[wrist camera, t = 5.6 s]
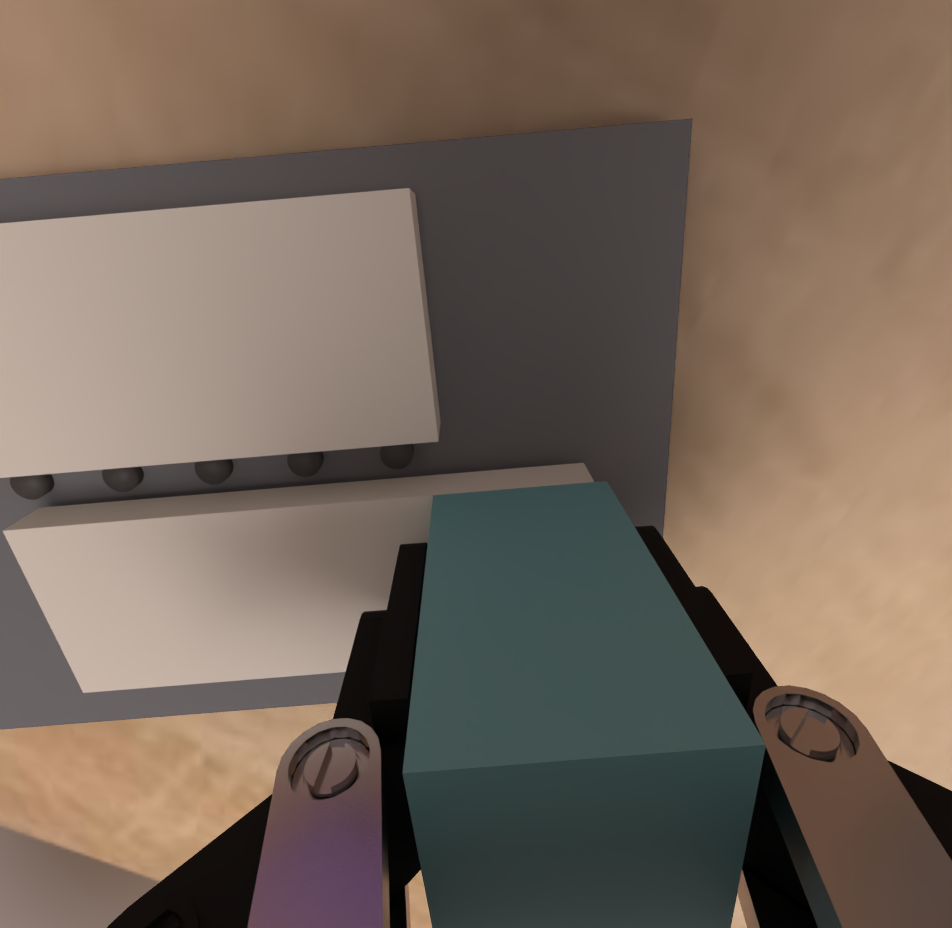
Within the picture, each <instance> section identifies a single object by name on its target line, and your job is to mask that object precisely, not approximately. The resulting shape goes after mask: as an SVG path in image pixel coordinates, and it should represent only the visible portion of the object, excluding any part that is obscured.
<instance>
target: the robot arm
mask: <svg viewBox="0 0 952 928" xmlns="http://www.w3.org/2000/svg"><path fill="white" fill-rule="evenodd" d="M635 528H636V530H637V532H638V533H639V535H640V537H641V538H642V540H643V542H644V543H645V545H646V547H647V548H648V550H649V552H650V553H651V555H652V557H653V558H654V560H655V562H656V563H657V565H658V567H659V568H660V570H661V572H662V573H663V575H664V577H665V578H666V580H667V581H668V583H669V585H670V586H671V588H672V590H673V591H674V593H675V595H676V596H677V598H678V600H679V601H680V603H681V605H682V606H683V608H684V610H685V611H686V613H687V615H688V616H689V618H690V620H691V621H692V623H693V625H694V626H695V628H696V630H697V631H698V633H699V634H700V636H701V638H702V639H703V641H704V643H705V644H706V646H707V648H708V649H709V651H710V653H711V654H712V656H713V658H714V659H715V661H716V663H717V664H718V666H719V668H720V669H721V671H722V673H723V674H724V676H725V678H726V679H727V681H728V683H729V684H730V686H731V688H732V689H733V691H734V692H735V694H736V696H737V697H738V699H739V701H740V702H741V704H742V706H743V707H744V709H745V711H746V712H747V714H748V716H749V717H750V719H751V721H752V722H753V724H754V726H755V727H756V729H757V731H758V732H759V734H760V736H761V737H762V739H763V741H764V742H765V744H766V748H765V753H764V758H763V763H762V768H761V773H760V778H759V784H758V789H757V794H756V799H755V804H754V809H753V815H752V820H751V825H750V830H749V835H748V840H747V845H746V851H745V856H744V861H743V866H742V871H741V876H740V881H739V887H738V892H737V893H738V897H739V900H740V904H741V907H742V911H743V914H744V918H745V921H746V925H747V928H952V791H951V790H948V789H946V788H944V787H942V786H940V785H938V784H936V783H934V782H932V781H930V780H928V779H926V778H923V777H921V776H919V775H917V774H915V773H913V772H911V771H909V770H907V769H905V768H903V767H901V766H898V765H896V764H894V763H892V762H890V761H888V760H887V759H886V758H885V756H884V755H883V753H882V751H881V750H880V748H879V747H878V745H877V744H876V742H875V741H874V739H873V737H872V736H871V734H870V733H869V731H868V730H867V728H866V727H865V726H864V725H863V723H862V722H861V721H860V720H859V719H858V717H857V716H856V715H855V714H854V713H852V712H851V711H850V710H849V709H847V708H846V707H845V706H843V705H842V704H841V703H839V702H838V701H836V700H834V699H832V698H830V697H828V696H826V695H825V694H822V693H819V692H816V691H813V690H811V689H808V688H803V687H796V686H790V685H788V686H777V685H776V683H775V682H774V680H773V679H772V677H771V676H770V675H769V673H768V672H767V670H766V669H765V668H764V666H763V665H762V663H761V662H760V660H759V659H758V658H757V656H756V655H755V653H754V652H753V651H752V649H751V648H750V646H749V645H748V643H747V642H746V641H745V639H744V638H743V636H742V635H741V634H740V632H739V631H738V629H737V628H736V627H735V625H734V624H733V622H732V621H731V619H730V618H729V617H728V615H727V614H726V612H725V611H724V610H723V608H722V607H721V605H720V604H719V602H718V601H717V600H716V598H715V597H714V595H713V594H712V593H711V592H710V591H709V589H708V588H706V587H703V586H700V587H695V586H694V584H693V583H692V581H691V580H690V578H689V577H688V575H687V574H686V572H685V571H684V569H683V568H682V566H681V565H680V563H679V562H678V560H677V559H676V557H675V556H674V554H673V553H672V551H671V550H670V548H669V547H668V545H667V544H666V542H665V541H664V539H663V538H662V536H661V535H660V533H659V532H658V530H657V529H656V528H655V527H654V526H652V525H651V526H638V527H635ZM427 546H428V544H427V542H425V543H412V544H401V545H400V547H399V551H398V556H397V561H396V566H395V571H394V576H393V581H392V586H391V591H390V596H389V601H388V606H387V610H378V611H365V612H363V613H362V614H361V617H360V620H359V624H358V627H357V631H356V635H355V639H354V642H353V646H352V650H351V654H350V657H349V661H348V665H347V669H346V672H345V676H344V680H343V684H342V687H341V691H340V695H339V699H338V702H337V706H336V710H335V714H334V717H333V719H332V720H329V721H325V722H322V723H319V724H317V725H315V726H313V727H312V728H310V729H308V730H307V731H305V732H303V733H302V734H301V735H300V736H299V737H298V738H297V739H296V740H294V741H293V742H292V743H291V745H290V746H289V747H288V749H287V750H286V752H285V753H284V755H283V756H282V758H281V761H280V764H279V766H278V769H277V772H276V778H275V783H274V788H273V794H272V795H270V796H269V797H268V798H267V799H265V800H264V801H263V802H261V803H260V804H259V805H258V806H256V807H255V808H254V809H253V810H251V811H250V812H249V813H247V814H246V815H245V816H244V817H242V818H241V819H240V820H239V821H237V822H236V823H235V824H233V825H232V826H231V827H230V828H228V829H227V830H226V831H225V832H223V833H222V834H221V835H219V836H218V837H217V838H216V839H214V840H213V841H212V842H211V843H209V844H208V845H207V846H205V847H204V848H203V849H202V850H200V851H199V852H198V853H197V854H195V855H194V856H193V857H192V858H190V859H189V860H188V861H186V862H185V863H184V864H183V865H181V866H180V867H179V868H178V869H176V870H175V871H174V872H172V873H171V874H170V875H169V876H167V877H166V878H165V879H164V880H162V881H161V882H160V883H158V884H157V885H156V886H155V887H153V888H152V889H151V890H150V891H148V892H147V893H146V894H144V895H143V896H142V897H141V898H139V899H138V900H137V901H136V902H134V903H133V904H132V905H130V906H129V907H128V908H127V909H126V910H125V911H124V912H123V913H122V914H121V915H120V916H118V917H117V918H116V919H115V920H114V921H113V922H112V923H111V924H110V925H109V926H108V927H107V928H411V924H410V905H409V886H408V883H409V882H410V881H411V880H412V878H413V877H414V876H415V875H416V874H417V873H418V872H419V871H420V870H421V866H420V861H419V856H418V851H417V845H416V840H415V835H414V830H413V825H412V820H411V815H410V810H409V804H408V799H407V794H406V789H405V784H404V779H403V774H402V773H403V764H404V755H405V746H406V737H407V728H408V718H409V709H410V700H411V691H412V682H413V673H414V664H415V655H416V646H417V637H418V628H419V619H420V610H421V601H422V591H423V582H424V573H425V564H426V555H427Z"/></svg>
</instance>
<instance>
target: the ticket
mask: <svg viewBox="0 0 952 928" xmlns="http://www.w3.org/2000/svg"><path fill="white" fill-rule="evenodd" d="M440 423H441V421H440V412H439V403H438V394H437V385H436V376H435V367H434V358H433V349H432V340H431V331H430V322H429V313H428V304H427V295H426V286H425V277H424V268H423V259H422V250H421V241H420V232H419V223H418V214H417V205H416V196H415V193H414V192H413V191H412V190H411V189H410V188H403V189H391V190H380V191H368V192H357V193H345V194H334V195H322V196H311V197H299V198H288V199H276V200H265V201H253V202H242V203H230V204H219V205H207V206H196V207H184V208H173V209H161V210H150V211H138V212H127V213H115V214H104V215H92V216H81V217H69V218H58V219H46V220H34V221H23V222H11V223H0V478H7V477H10V485H11V487H12V489H13V490H14V492H15V493H17V494H18V495H19V496H21V497H23V498H25V499H29V500H35V499H39V498H40V497H42V496H44V495H45V494H47V493H49V492H50V491H51V490H52V489H53V488H54V479H53V477H52V475H51V474H55V473H67V472H79V471H91V470H103V471H102V477H103V480H104V482H105V483H106V485H107V486H109V487H110V488H111V489H113V490H115V491H118V492H128V491H131V490H132V489H133V488H135V487H136V486H137V485H139V484H140V483H141V482H142V480H143V478H144V472H143V470H142V468H141V466H151V465H163V464H175V463H187V462H195V472H196V474H197V476H198V477H199V478H200V479H201V480H202V481H203V482H205V483H208V484H212V485H217V484H220V483H222V482H224V481H225V480H226V479H227V478H228V477H229V476H230V475H231V474H232V472H233V468H234V466H233V462H232V460H231V459H236V458H248V457H260V456H272V455H284V454H289V455H288V457H287V463H288V466H289V468H290V470H291V471H292V472H293V473H294V474H296V475H298V476H301V477H310V476H313V475H315V474H316V473H317V472H318V470H319V469H320V467H321V465H322V464H323V460H324V457H323V453H322V451H332V450H344V449H356V448H368V447H380V446H382V447H381V450H380V457H381V460H382V462H383V463H384V464H385V465H386V466H387V467H389V468H391V469H396V470H398V469H403V468H405V467H407V466H408V465H409V464H410V463H411V461H412V458H413V453H414V447H413V444H416V443H428V442H438V440H439V432H440Z"/></svg>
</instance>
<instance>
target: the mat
mask: <svg viewBox="0 0 952 928" xmlns="http://www.w3.org/2000/svg"><path fill="white" fill-rule="evenodd" d="M691 129H692V119H682V120H671V121H659V122H648V123H636V124H625V125H614V126H602V127H591V128H579V129H568V130H556V131H545V132H533V133H522V134H511V135H499V136H488V137H476V138H465V139H453V140H442V141H431V142H419V143H408V144H396V145H385V146H373V147H362V148H351V149H339V150H328V151H316V152H305V153H293V154H282V155H271V156H259V157H248V158H236V159H225V160H213V161H202V162H191V163H179V164H168V165H156V166H145V167H133V168H122V169H110V170H99V171H88V172H76V173H65V174H53V175H42V176H30V177H19V178H8V179H0V223H11V222H23V221H34V220H46V219H58V218H69V217H81V216H92V215H104V214H115V213H127V212H138V211H150V210H161V209H173V208H184V207H196V206H207V205H219V204H230V203H242V202H253V201H265V200H276V199H288V198H299V197H311V196H322V195H334V194H345V193H357V192H368V191H380V190H391V189H403V188H410V189H411V190H412V191H413V192H414V193H415V196H416V205H417V214H418V223H419V232H420V241H421V250H422V259H423V268H424V277H425V286H426V295H427V304H428V313H429V322H430V331H431V340H432V349H433V358H434V367H435V376H436V385H437V394H438V403H439V412H440V421H441V423H440V432H439V440H438V442H428V443H416V444H413V447H414V453H413V458H412V461H411V463H410V464H409V465H408V466H407V467H405V468H403V469H398V470H396V469H391V468H389V467H387V466H386V465H385V464H384V463H383V462H382V460H381V457H380V450H381V447H382V446H380V447H368V448H356V449H344V450H332V451H322V453H323V457H324V460H323V464H322V465H321V467H320V469H319V470H318V472H317V473H316V474H315V475H313V476H310V477H301V476H298V475H296V474H294V473H293V472H292V471H291V470H290V468H289V466H288V463H287V457H288V455H289V454H284V455H272V456H260V457H248V458H236V459H231V460H232V462H233V466H234V468H233V472H232V474H231V475H230V476H229V477H228V478H227V479H226V480H225V481H224V482H222V483H220V484H217V485H212V484H208V483H205V482H203V481H202V480H201V479H200V478H199V477H198V476H197V474H196V472H195V462H187V463H175V464H163V465H151V466H141V468H142V470H143V472H144V478H143V480H142V482H141V483H140V484H139V485H137V486H136V487H135V488H133V489H132V490H131V491H128V492H118V491H115V490H113V489H111V488H110V487H109V486H107V485H106V483H105V482H104V480H103V477H102V471H103V470H91V471H79V472H67V473H55V474H51V475H52V477H53V479H54V488H53V489H52V490H51V491H50V492H49V493H47V494H45V495H44V496H42V497H40V498H39V499H35V500H29V499H25V498H23V497H21V496H19V495H18V494H17V493H15V492H14V490H13V489H12V487H11V485H10V477H7V478H0V729H13V728H25V727H38V726H50V725H63V724H76V723H88V722H101V721H113V720H126V719H138V718H151V717H163V716H176V715H188V714H201V713H213V712H226V711H239V710H251V709H264V708H276V707H289V706H301V705H314V704H326V703H337V702H338V699H339V695H340V691H341V687H342V684H343V680H344V676H345V672H339V673H326V674H314V675H301V676H289V677H276V678H264V679H251V680H239V681H226V682H214V683H201V684H189V685H177V686H164V687H152V688H139V689H127V690H114V691H102V692H89V693H83V691H82V689H81V687H80V685H79V683H78V681H77V679H76V677H75V675H74V673H73V671H72V669H71V667H70V665H69V663H68V661H67V659H66V657H65V655H64V653H63V651H62V649H61V647H60V645H59V643H58V641H57V639H56V637H55V635H54V633H53V631H52V629H51V627H50V625H49V623H48V621H47V619H46V617H45V615H44V613H43V611H42V609H41V607H40V605H39V603H38V601H37V599H36V597H35V595H34V593H33V591H32V589H31V587H30V585H29V583H28V581H27V579H26V577H25V575H24V573H23V571H22V569H21V567H20V565H19V563H18V561H17V559H16V557H15V555H14V553H13V551H12V549H11V547H10V545H9V543H8V541H7V539H6V537H5V535H4V533H3V530H5V529H6V528H8V527H9V526H11V525H12V524H14V523H16V522H17V521H19V520H20V519H22V518H23V517H25V516H27V515H28V514H30V513H31V512H33V511H35V510H36V509H38V508H41V507H54V506H66V505H78V504H90V503H102V502H114V501H126V500H138V499H150V498H162V497H174V496H186V495H198V494H211V493H223V492H235V491H247V490H259V489H271V488H283V487H295V486H307V485H319V484H331V483H343V482H355V481H367V480H380V479H392V478H404V477H416V476H428V475H440V474H452V473H464V472H476V471H488V470H500V469H512V468H524V467H537V466H549V465H561V464H573V463H584V464H585V466H586V468H587V469H588V471H589V473H590V475H591V477H592V479H593V480H594V482H600V481H607V482H608V484H609V485H610V487H611V489H612V490H613V492H614V494H615V495H616V497H617V499H618V500H619V502H620V504H621V505H622V507H623V509H624V510H625V512H626V514H627V515H628V517H629V519H630V520H631V522H632V523H633V525H634V527H638V526H651V525H652V526H654V527H655V528H656V529H657V530H658V532H659V533H660V535H661V536H662V538H663V528H664V514H665V500H666V485H667V471H668V457H669V443H670V428H671V414H672V400H673V386H674V371H675V357H676V343H677V329H678V314H679V300H680V286H681V272H682V257H683V243H684V229H685V215H686V200H687V186H688V172H689V158H690V143H691Z"/></svg>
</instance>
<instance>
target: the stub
mask: <svg viewBox="0 0 952 928" xmlns="http://www.w3.org/2000/svg"><path fill="white" fill-rule="evenodd" d="M3 533H4V535H5V537H6V539H7V541H8V543H9V545H10V547H11V549H12V551H13V553H14V555H15V557H16V559H17V561H18V563H19V565H20V567H21V569H22V571H23V573H24V575H25V577H26V579H27V581H28V583H29V585H30V587H31V589H32V591H33V593H34V595H35V597H36V599H37V601H38V603H39V605H40V607H41V609H42V611H43V613H44V615H45V617H46V619H47V621H48V623H49V625H50V627H51V629H52V631H53V633H54V635H55V637H56V639H57V641H58V643H59V645H60V647H61V649H62V651H63V653H64V655H65V657H66V659H67V661H68V663H69V665H70V667H71V669H72V671H73V673H74V675H75V677H76V679H77V681H78V683H79V685H80V687H81V689H82V691H83V693H89V692H102V691H114V690H127V689H139V688H152V687H164V686H177V685H189V684H201V683H214V682H226V681H239V680H251V679H264V678H276V677H289V676H301V675H314V674H326V673H339V672H346V669H347V665H348V661H349V657H350V654H351V650H352V646H353V642H354V639H355V635H356V631H357V627H358V624H359V620H360V617H361V614H362V613H363V612H365V611H378V610H387V606H388V601H389V596H390V591H391V586H392V581H393V576H394V571H395V566H396V561H397V556H398V551H399V547H400V545H401V544H412V543H425V542H427V544H428V546H427V555H426V564H425V573H424V582H423V591H422V601H421V610H420V619H419V628H418V637H417V646H416V655H415V664H414V673H413V682H412V691H411V700H410V709H409V718H408V728H407V737H406V746H405V755H404V764H403V773H402V774H403V779H404V784H405V789H406V794H407V799H408V804H409V810H410V815H411V820H412V825H413V830H414V835H415V840H416V845H417V851H418V856H419V861H420V866H421V871H422V876H423V881H424V886H425V892H426V897H427V902H428V907H429V912H430V917H431V922H432V928H731V923H732V917H733V912H734V907H735V902H736V897H737V892H738V887H739V881H740V876H741V871H742V866H743V861H744V856H745V851H746V845H747V840H748V835H749V830H750V825H751V820H752V815H753V809H754V804H755V799H756V794H757V789H758V784H759V778H760V773H761V768H762V763H763V758H764V753H765V748H766V744H765V742H764V741H763V739H762V737H761V736H760V734H759V732H758V731H757V729H756V727H755V726H754V724H753V722H752V721H751V719H750V717H749V716H748V714H747V712H746V711H745V709H744V707H743V706H742V704H741V702H740V701H739V699H738V697H737V696H736V694H735V692H734V691H733V689H732V688H731V686H730V684H729V683H728V681H727V679H726V678H725V676H724V674H723V673H722V671H721V669H720V668H719V666H718V664H717V663H716V661H715V659H714V658H713V656H712V654H711V653H710V651H709V649H708V648H707V646H706V644H705V643H704V641H703V639H702V638H701V636H700V634H699V633H698V631H697V630H696V628H695V626H694V625H693V623H692V621H691V620H690V618H689V616H688V615H687V613H686V611H685V610H684V608H683V606H682V605H681V603H680V601H679V600H678V598H677V596H676V595H675V593H674V591H673V590H672V588H671V586H670V585H669V583H668V581H667V580H666V578H665V577H664V575H663V573H662V572H661V570H660V568H659V567H658V565H657V563H656V562H655V560H654V558H653V557H652V555H651V553H650V552H649V550H648V548H647V547H646V545H645V543H644V542H643V540H642V538H641V537H640V535H639V533H638V532H637V530H636V528H635V527H634V525H633V523H632V522H631V520H630V519H629V517H628V515H627V514H626V512H625V510H624V509H623V507H622V505H621V504H620V502H619V500H618V499H617V497H616V495H615V494H614V492H613V490H612V489H611V487H610V485H609V484H608V482H607V481H600V482H594V480H593V479H592V477H591V475H590V473H589V471H588V469H587V468H586V466H585V464H584V463H573V464H561V465H549V466H537V467H524V468H512V469H500V470H488V471H476V472H464V473H452V474H440V475H428V476H416V477H404V478H392V479H380V480H367V481H355V482H343V483H331V484H319V485H307V486H295V487H283V488H271V489H259V490H247V491H235V492H223V493H211V494H198V495H186V496H174V497H162V498H150V499H138V500H126V501H114V502H102V503H90V504H78V505H66V506H54V507H41V508H38V509H36V510H35V511H33V512H31V513H30V514H28V515H27V516H25V517H23V518H22V519H20V520H19V521H17V522H16V523H14V524H12V525H11V526H9V527H8V528H6V529H5V530H3Z"/></svg>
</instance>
